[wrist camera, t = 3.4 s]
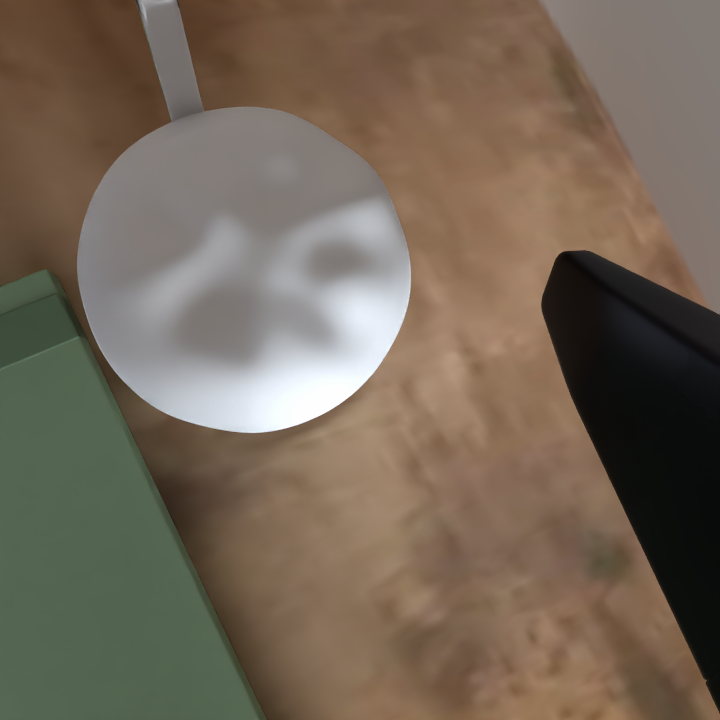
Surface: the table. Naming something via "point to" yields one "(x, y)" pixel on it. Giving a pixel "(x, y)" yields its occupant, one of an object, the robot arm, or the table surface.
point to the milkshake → (239, 258)
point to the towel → (92, 546)
